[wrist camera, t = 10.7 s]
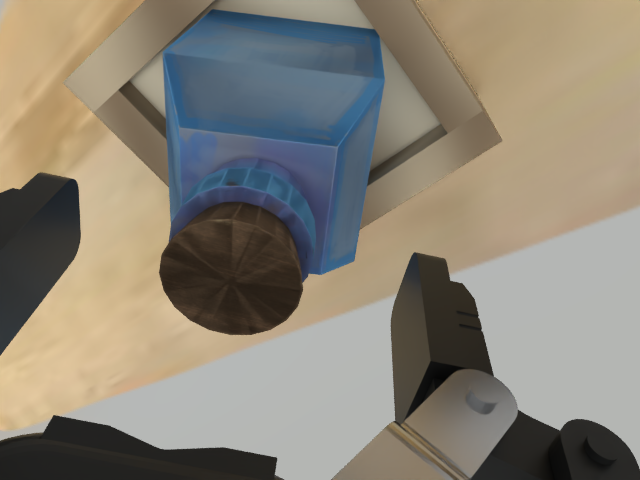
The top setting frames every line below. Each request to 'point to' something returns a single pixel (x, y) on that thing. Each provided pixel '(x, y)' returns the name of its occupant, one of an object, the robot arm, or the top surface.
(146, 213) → the top surface
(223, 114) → the perfume bottle
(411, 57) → the square tray
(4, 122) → the top surface
